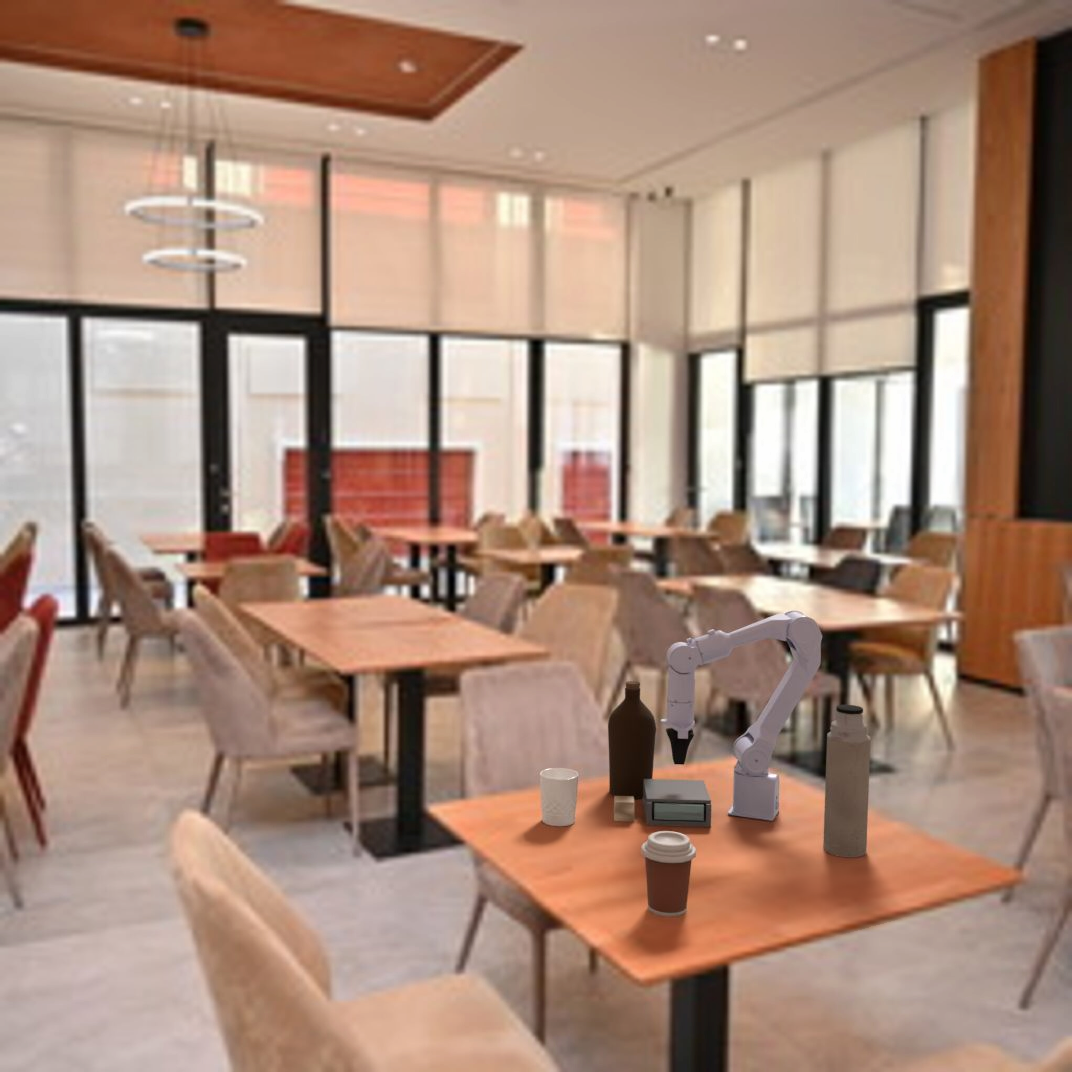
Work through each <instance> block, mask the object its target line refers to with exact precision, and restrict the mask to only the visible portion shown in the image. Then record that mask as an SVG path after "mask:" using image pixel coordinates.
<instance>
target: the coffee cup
mask: <svg viewBox="0 0 1072 1072" xmlns="http://www.w3.org/2000/svg"><path fill="white" fill-rule="evenodd" d="M640 852H641V854H642V855H643V857H644V860H645V876H646V877H645V878H646V891H647V895H646V896H647V910H648V911H649V912H650V913H652V914H654V915H657V916H660V917H668V918H672V917H673V918H674V917H679V916H683V915H684V914H686V913H687V908H688V907H687V905H688V899H689V898H688V895H689V888H690V887H689V886H690V878H691V870H692V869H691V868H692V860H693V859H695V858H696V856H697V848H696V847H695V846H694V845H693V844H692V842H691V839H690V837H689V836H688V835H686V834H683V833H682V832H676V831H669V830H661V831H660V830H659V831H656V832H652V833H650V834H649V835H648V836H647V840H646V841H645V842H643V843H642V844H641V848H640Z"/></svg>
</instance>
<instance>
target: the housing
mask: <svg viewBox="0 0 1072 1072" xmlns="http://www.w3.org/2000/svg"><path fill="white" fill-rule="evenodd" d="M652 802H681V803H701V804H704V821H701V820H666V819H654V815H653V810H652ZM642 805H643V811H644V815H645V823H646V826H657V827H658V826H659V827H660V826H663V827H666V826H667V827H668V826H669V827H692V828H693V827H697V828H698V827H699V828H711V827H712V800H711V796H710V794H709V791H708V788H707V786H706V783H705V780H700V779H670V778H669V779H667V778H665V779H663V778H661V779H660V778H652V779H643V798H642Z"/></svg>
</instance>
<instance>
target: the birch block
mask: <svg viewBox="0 0 1072 1072" xmlns="http://www.w3.org/2000/svg"><path fill="white" fill-rule="evenodd" d="M613 796H614V795H613ZM613 798H614V799H613V819H614V822H632V823H633V822H635V799H634V796H614V797H613Z"/></svg>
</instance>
